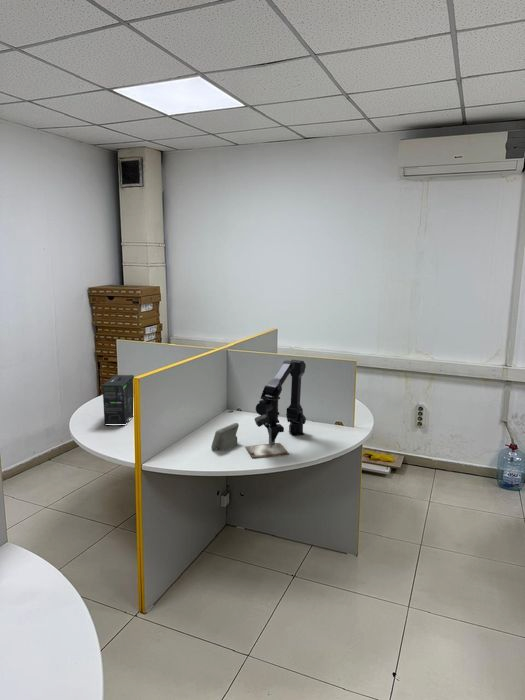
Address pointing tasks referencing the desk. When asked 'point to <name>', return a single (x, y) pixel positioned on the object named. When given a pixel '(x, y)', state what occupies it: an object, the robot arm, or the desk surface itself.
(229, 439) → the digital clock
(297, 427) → the robot arm
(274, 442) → the glue stick
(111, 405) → the headset box
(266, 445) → the clipboard
